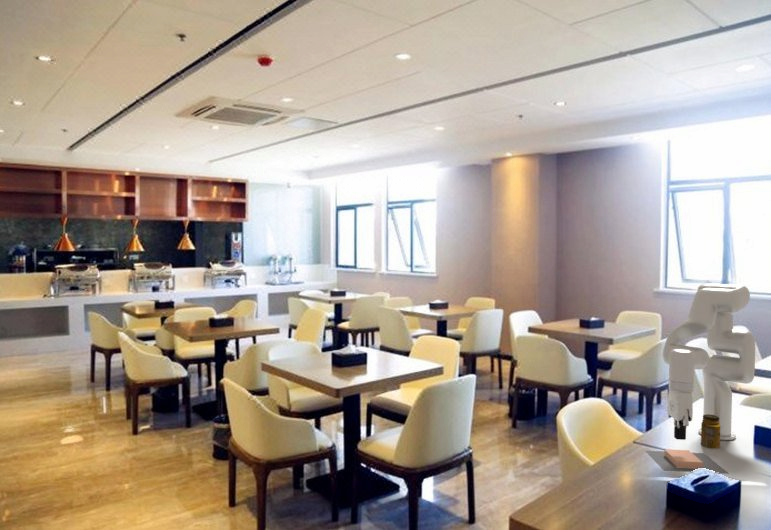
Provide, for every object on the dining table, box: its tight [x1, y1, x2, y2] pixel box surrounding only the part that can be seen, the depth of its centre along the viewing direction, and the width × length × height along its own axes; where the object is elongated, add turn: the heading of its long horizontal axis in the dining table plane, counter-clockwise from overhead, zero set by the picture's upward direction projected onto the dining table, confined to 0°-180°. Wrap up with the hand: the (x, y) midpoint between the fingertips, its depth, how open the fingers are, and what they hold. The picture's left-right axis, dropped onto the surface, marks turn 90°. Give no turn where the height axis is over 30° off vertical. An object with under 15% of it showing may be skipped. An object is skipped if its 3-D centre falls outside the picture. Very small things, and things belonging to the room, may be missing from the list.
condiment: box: [700, 414, 721, 449], centre depth 205 cm, size 7×8×12 cm
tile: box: [663, 448, 703, 469], centre depth 189 cm, size 2×8×11 cm
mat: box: [645, 450, 730, 475], centre depth 190 cm, size 18×20×1 cm
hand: (679, 438), depth 192 cm, fingers closed
